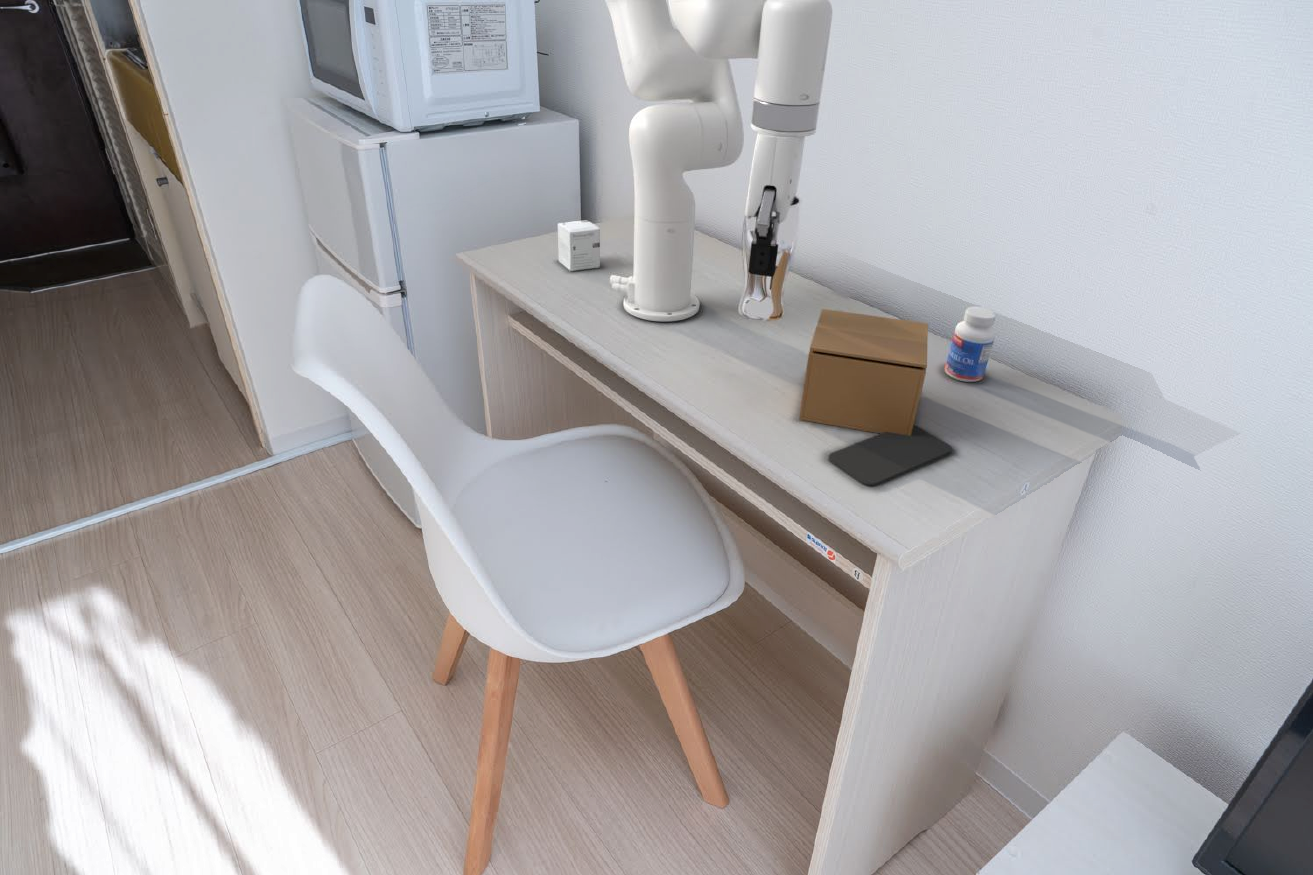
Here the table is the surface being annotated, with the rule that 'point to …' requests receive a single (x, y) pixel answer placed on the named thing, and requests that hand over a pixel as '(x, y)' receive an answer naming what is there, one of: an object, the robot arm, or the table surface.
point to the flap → (873, 325)
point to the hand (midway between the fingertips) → (766, 262)
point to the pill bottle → (971, 345)
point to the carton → (863, 381)
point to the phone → (889, 456)
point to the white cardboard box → (579, 245)
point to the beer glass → (765, 292)
